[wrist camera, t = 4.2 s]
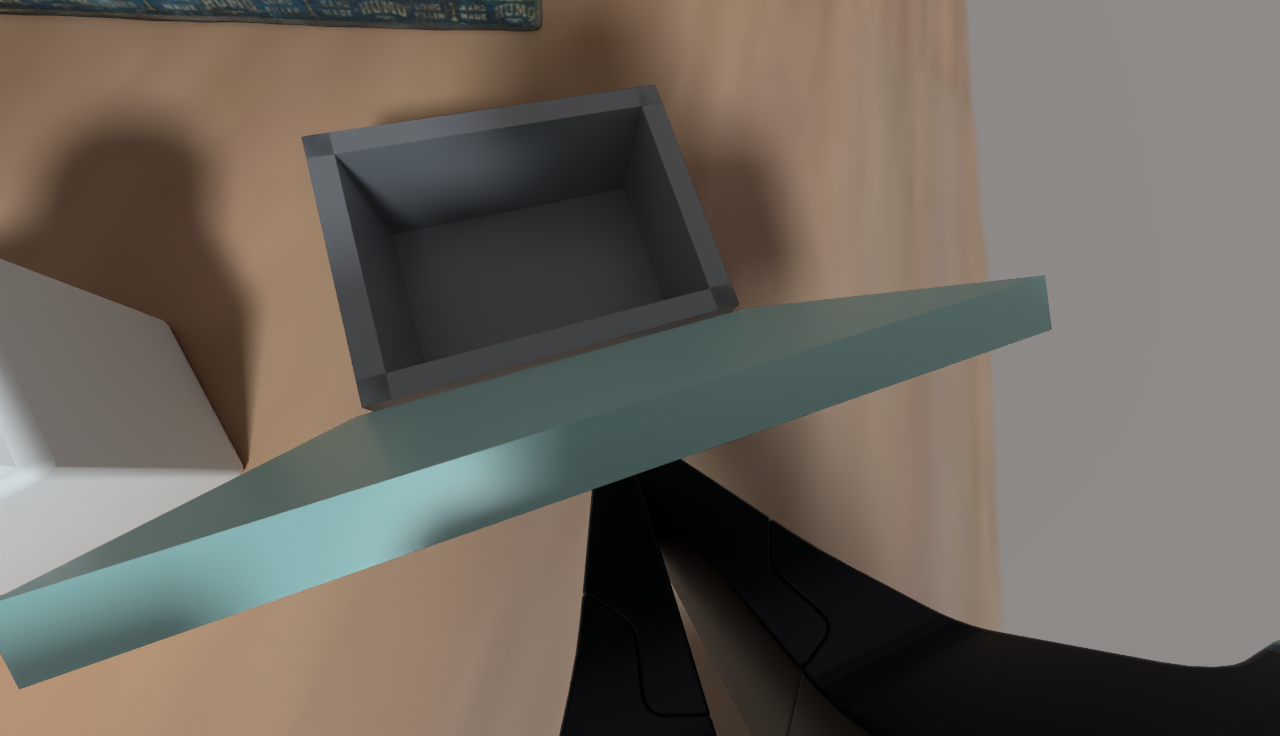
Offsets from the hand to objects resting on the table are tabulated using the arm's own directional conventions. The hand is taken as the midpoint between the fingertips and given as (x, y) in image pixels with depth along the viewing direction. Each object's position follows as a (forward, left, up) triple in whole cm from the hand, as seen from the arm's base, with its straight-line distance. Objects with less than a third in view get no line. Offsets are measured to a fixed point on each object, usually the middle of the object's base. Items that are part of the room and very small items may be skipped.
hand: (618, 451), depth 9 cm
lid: (+1, +1, 0) cm, 2 cm away
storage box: (+5, +6, -11) cm, 13 cm away
